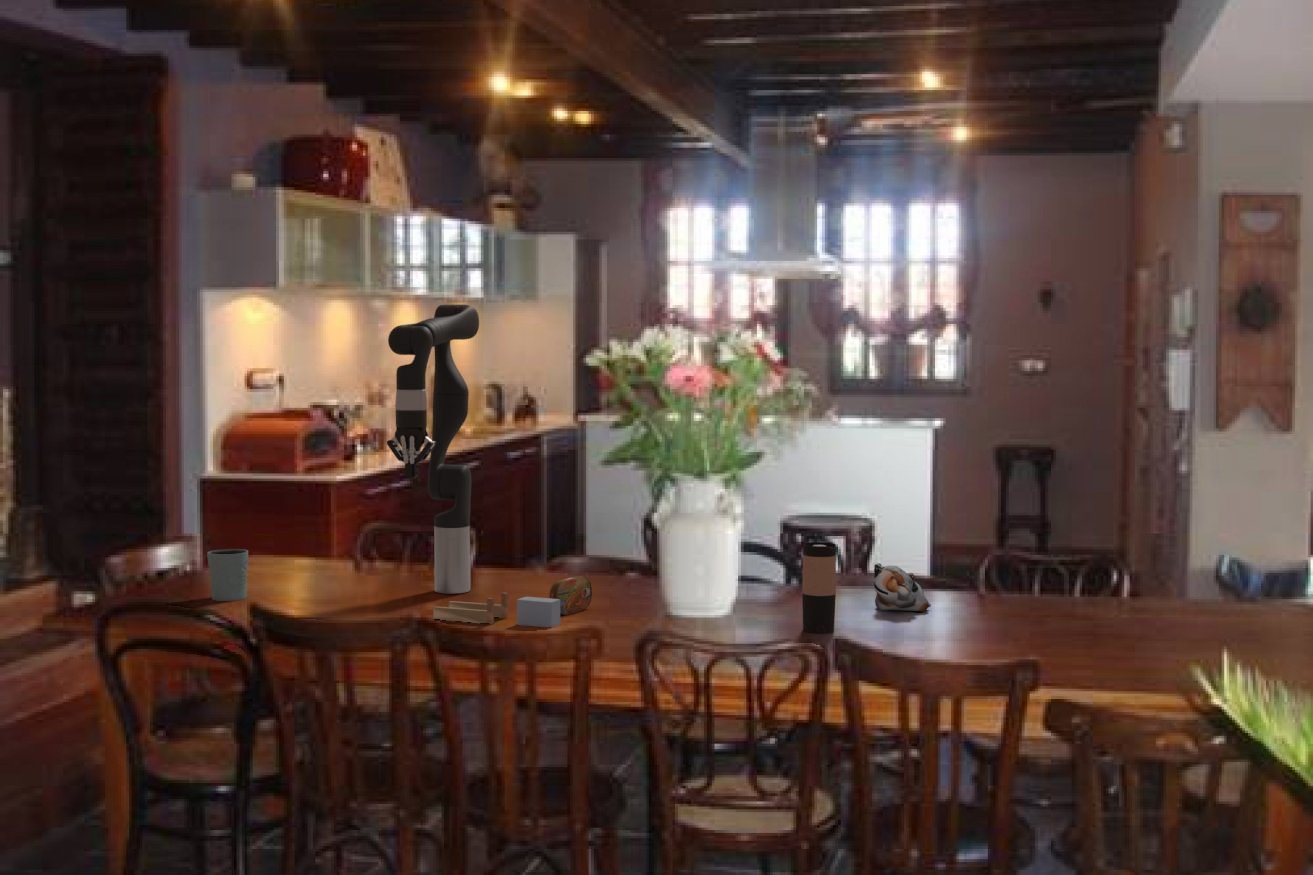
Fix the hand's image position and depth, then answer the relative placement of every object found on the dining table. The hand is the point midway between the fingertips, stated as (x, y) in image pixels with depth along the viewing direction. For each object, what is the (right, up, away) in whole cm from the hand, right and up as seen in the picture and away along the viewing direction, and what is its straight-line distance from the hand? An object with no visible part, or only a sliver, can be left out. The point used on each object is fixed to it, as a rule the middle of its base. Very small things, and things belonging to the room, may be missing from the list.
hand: (411, 478), depth 375 cm
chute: (+15, -33, -11) cm, 38 cm away
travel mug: (+97, -35, -22) cm, 106 cm away
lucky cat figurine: (+120, -33, +4) cm, 125 cm away
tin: (+39, -33, -1) cm, 51 cm away
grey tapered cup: (-49, -31, +15) cm, 60 cm away
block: (+32, -34, -17) cm, 50 cm away
